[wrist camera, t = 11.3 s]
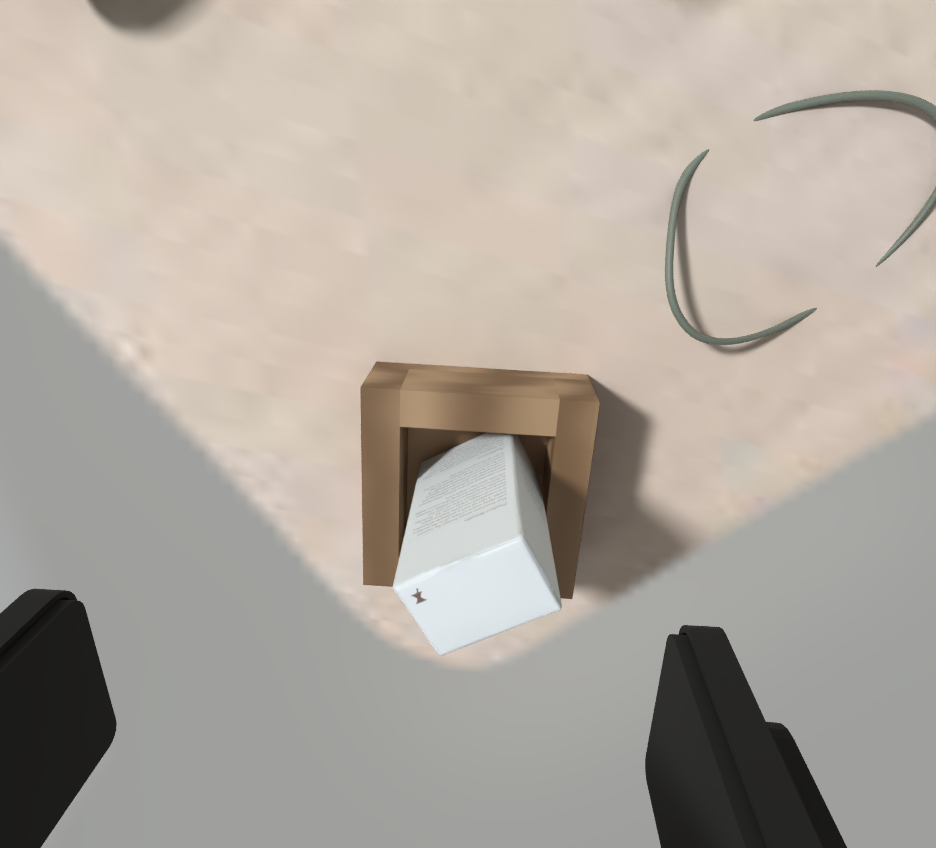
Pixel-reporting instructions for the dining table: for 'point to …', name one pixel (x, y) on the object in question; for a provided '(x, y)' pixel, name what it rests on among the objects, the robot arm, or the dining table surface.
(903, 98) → the loop
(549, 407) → the holder
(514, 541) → the skincare box
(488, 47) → the dining table surface
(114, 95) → the dining table surface
